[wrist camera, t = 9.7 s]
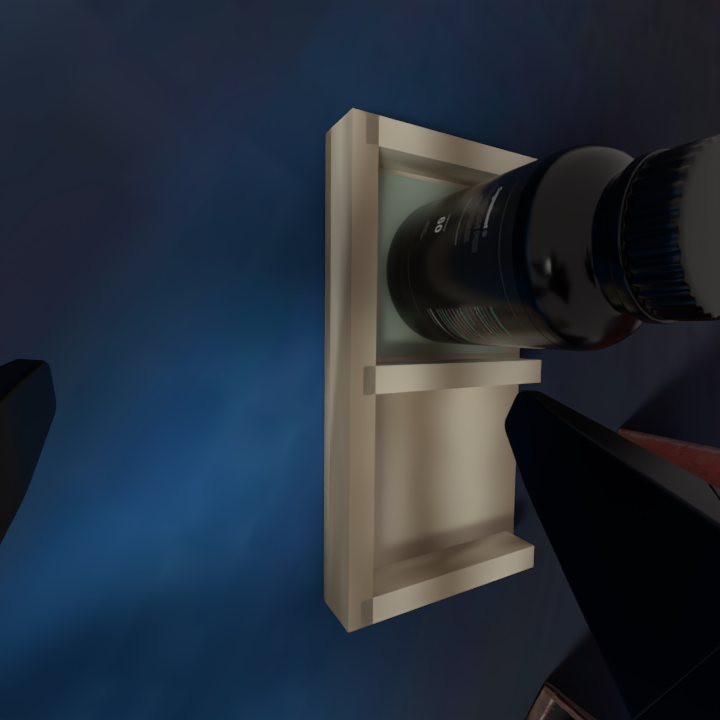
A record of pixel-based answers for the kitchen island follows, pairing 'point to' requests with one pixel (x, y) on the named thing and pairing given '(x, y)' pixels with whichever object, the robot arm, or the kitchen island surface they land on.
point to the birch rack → (408, 392)
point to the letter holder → (555, 706)
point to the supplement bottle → (565, 250)
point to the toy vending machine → (681, 454)
